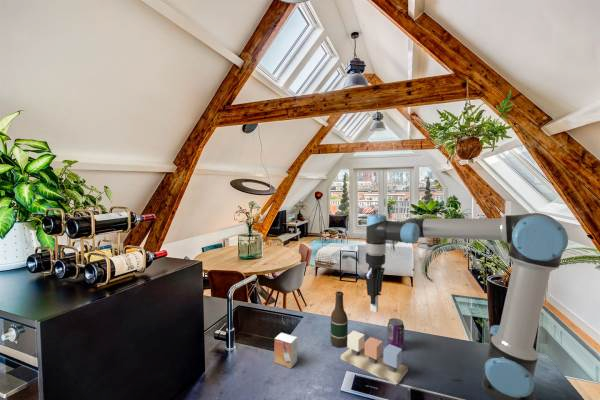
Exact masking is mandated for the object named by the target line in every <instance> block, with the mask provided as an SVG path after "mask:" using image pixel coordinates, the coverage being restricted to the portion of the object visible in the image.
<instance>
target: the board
mask: <svg viewBox="0 0 600 400" xmlns="http://www.w3.org/2000/svg"><path fill="white" fill-rule="evenodd" d="M364 352H365V347H363V348H362V349H361V350H360V351H359V352H357V351H355V350H353V349H350V348H348V349H347V350H346V351H345V352H343V353H342V354H341V355H340V360H341V361H344V362H346V363H348V364H350V365H352V366H355V367H356V368H358V369H361V370H363V371H365V372H367V373H369V374H371V375H373V376H376V377H377V378H379V379H382V378H383V379H382V380H384V379H386V380H388V381H390V382H392V383H395V384H399V383H400V382H401V381H402V379H403V378H404V377H405V375H406V374H407V372H408V369H409V368H408V367H409V366H407V365H404V364H402V363H400V365H399V366H398V367H397V368H394V367H392V366H390V365H387V364H385V363H383V356H382V355H381V356H380V357H379V358H378V359H377V360H376V359H373V358H371V357H369V356H367V355H364ZM386 380H385V381H386ZM388 381H387V382H388ZM390 382H389V383H390ZM392 383H391V384H392Z"/></svg>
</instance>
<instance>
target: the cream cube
mask: <svg viewBox="0 0 600 400" xmlns="http://www.w3.org/2000/svg"><path fill="white" fill-rule="evenodd" d="M365 337H366V336H365V334H364V333H361V332H359V331H356V330H352V331H351V332H350V333H348V335H347V345H346V347H347V348H348V349H349V348H350V349H353V350H355V351H357V352H359V351H360V350H361V349H362V348H365Z"/></svg>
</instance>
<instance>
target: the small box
mask: <svg viewBox="0 0 600 400" xmlns="http://www.w3.org/2000/svg"><path fill="white" fill-rule="evenodd" d="M273 345H274V347H273V348H274V349H273V351H274V352H273V353H274V356H273V362H274V363H275V364H278V365H281V366H282V367H283V366H284V367H286V368H289V369H292V367H293V366H294V365H295V364H296V363H297V362H298V336H295V335H290V334H288V333H284V332H280V333H279V334H278V335H276V337H274V344H273Z"/></svg>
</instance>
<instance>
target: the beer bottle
mask: <svg viewBox="0 0 600 400" xmlns="http://www.w3.org/2000/svg"><path fill="white" fill-rule="evenodd" d="M334 295H335V305H334V309H333V310H332V312H331V315H330V343H331V346H333V347H334V348H339V349H340V348H345V347H347V335H348V334H349V333H348V330H349V329H348V328H349V327H348V325H349V324H348V321H349V320H348V315H347V313H346V310H345V307H344V292H343V291H340V290H339V291H336V292H335V294H334Z"/></svg>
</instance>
